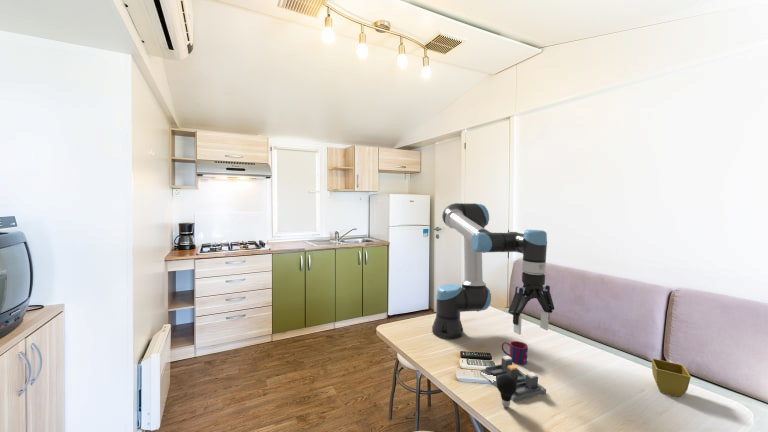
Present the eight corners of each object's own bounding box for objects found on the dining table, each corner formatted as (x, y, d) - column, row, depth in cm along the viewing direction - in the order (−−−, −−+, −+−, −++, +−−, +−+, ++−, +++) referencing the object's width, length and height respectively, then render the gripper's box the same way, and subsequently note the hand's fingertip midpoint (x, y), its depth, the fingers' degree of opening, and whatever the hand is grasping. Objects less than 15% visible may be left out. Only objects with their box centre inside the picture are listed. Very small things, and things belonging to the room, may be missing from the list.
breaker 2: (525, 385, 107) (525, 373, 106) (532, 383, 108) (532, 371, 107) (530, 389, 104) (531, 376, 104) (537, 387, 105) (538, 375, 105)
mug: (523, 366, 122) (524, 350, 122) (498, 357, 129) (499, 342, 129) (529, 360, 127) (530, 344, 127) (505, 352, 134) (505, 337, 133)
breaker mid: (506, 377, 111) (506, 365, 111) (512, 376, 112) (513, 364, 112) (510, 381, 109) (511, 369, 109) (517, 379, 110) (518, 367, 110)
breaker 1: (501, 367, 118) (501, 356, 118) (507, 366, 119) (508, 355, 119) (505, 370, 116) (506, 359, 115) (512, 369, 117) (512, 358, 116)
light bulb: (492, 401, 100) (493, 371, 100) (509, 400, 101) (511, 370, 100) (500, 413, 95) (502, 381, 94) (519, 412, 95) (520, 381, 95)
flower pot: (689, 403, 102) (691, 376, 101) (654, 393, 106) (656, 368, 106) (681, 389, 109) (683, 365, 109) (649, 381, 114) (651, 357, 113)
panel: (480, 373, 116) (480, 367, 116) (510, 367, 121) (510, 362, 121) (513, 401, 100) (513, 394, 100) (546, 393, 105) (546, 387, 105)
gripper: (514, 277, 104) (512, 339, 105) (567, 272, 112) (564, 330, 113) (499, 272, 111) (496, 330, 112) (550, 268, 119) (547, 323, 120)
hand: (530, 330), depth 112 cm, fingers open, 12 cm apart
